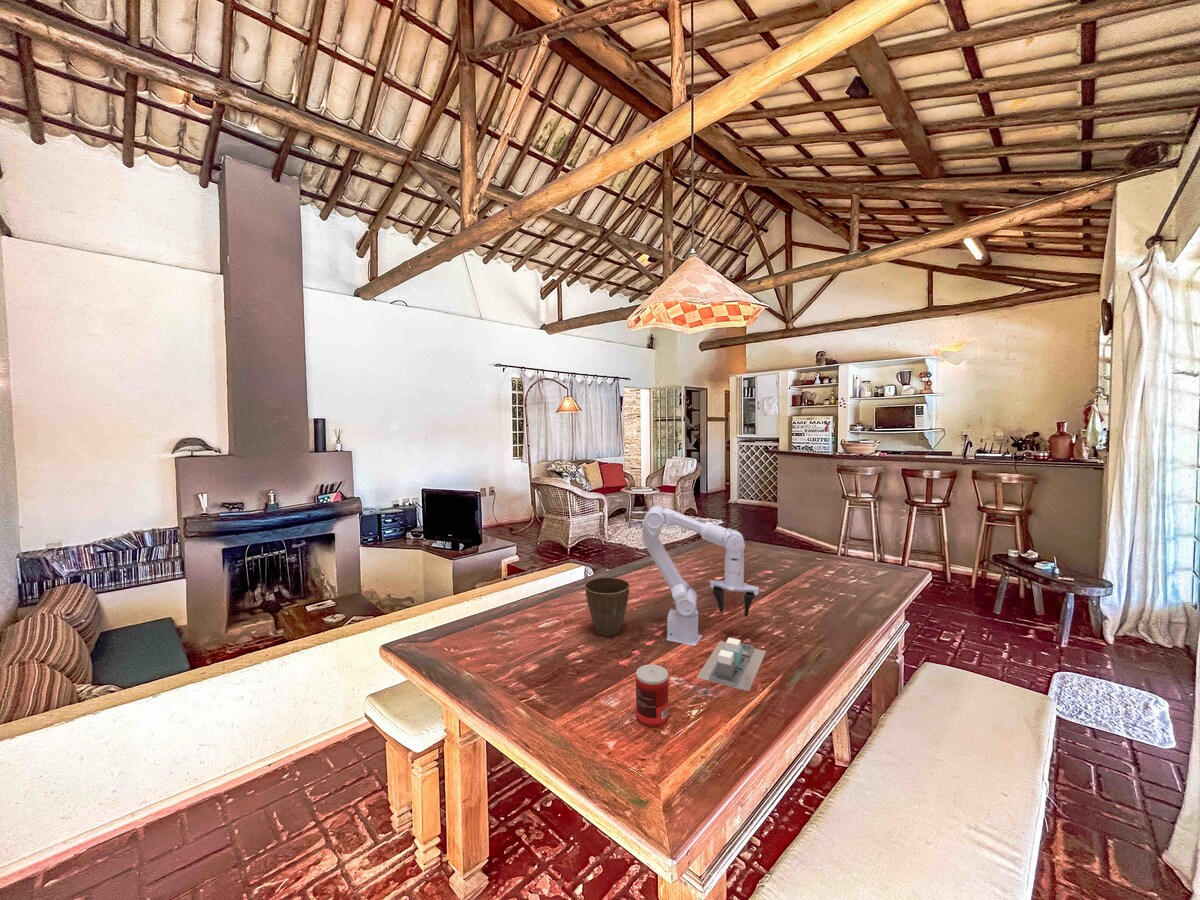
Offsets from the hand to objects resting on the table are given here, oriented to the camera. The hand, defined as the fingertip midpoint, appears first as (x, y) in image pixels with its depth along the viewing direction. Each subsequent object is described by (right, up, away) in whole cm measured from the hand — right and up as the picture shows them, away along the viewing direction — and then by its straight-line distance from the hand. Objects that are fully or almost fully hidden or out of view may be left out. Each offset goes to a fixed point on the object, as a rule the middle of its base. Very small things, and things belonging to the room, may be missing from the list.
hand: (733, 613), depth 149 cm
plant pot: (-39, -10, +10) cm, 42 cm away
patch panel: (-4, -11, -12) cm, 17 cm away
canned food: (-29, -13, -35) cm, 48 cm away
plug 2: (-8, -11, -19) cm, 23 cm away
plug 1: (-4, -10, -12) cm, 16 cm away
